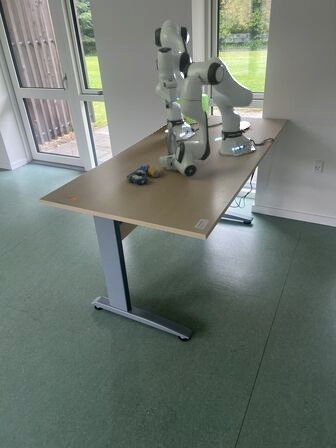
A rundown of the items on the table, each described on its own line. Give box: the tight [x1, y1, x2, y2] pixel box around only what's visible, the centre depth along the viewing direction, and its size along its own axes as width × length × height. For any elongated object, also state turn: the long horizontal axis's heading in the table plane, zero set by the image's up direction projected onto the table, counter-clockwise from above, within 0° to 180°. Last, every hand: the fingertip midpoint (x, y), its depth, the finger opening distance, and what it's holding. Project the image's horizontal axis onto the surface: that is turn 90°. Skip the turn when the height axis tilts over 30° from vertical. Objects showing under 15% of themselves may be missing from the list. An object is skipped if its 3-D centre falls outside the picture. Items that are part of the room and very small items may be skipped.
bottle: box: [166, 127, 178, 155], centre depth 199 cm, size 6×6×22 cm
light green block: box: [176, 93, 209, 126], centre depth 283 cm, size 25×21×23 cm
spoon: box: [240, 120, 251, 130], centre depth 250 cm, size 35×11×2 cm, turn 159°
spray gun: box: [125, 164, 160, 185], centre depth 188 cm, size 21×4×15 cm
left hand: (169, 108), depth 188 cm, fingers closed on cap, 4 cm apart
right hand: (172, 154), depth 203 cm, fingers closed on bottle, 5 cm apart
